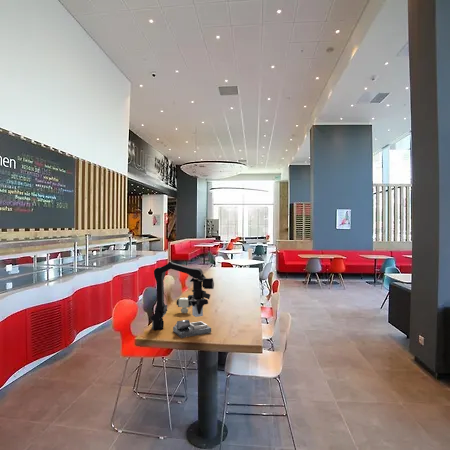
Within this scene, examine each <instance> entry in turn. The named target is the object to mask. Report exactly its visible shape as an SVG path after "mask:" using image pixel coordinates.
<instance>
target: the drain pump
mask: <svg viewBox="0 0 450 450" xmlns="http://www.w3.org/2000/svg"><path fill="white" fill-rule="evenodd" d="M191 308H192V311H191V312H192V316H193V317H195V318H198V317H203V316H204V306H203V307H202V310H201V313H200V314H198V311H197V308H196V304H195V305H194V306H191Z"/></svg>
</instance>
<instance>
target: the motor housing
mask: <svg viewBox="0 0 450 450" xmlns="http://www.w3.org/2000/svg"><path fill="white" fill-rule="evenodd" d="M172 328H173V329H172V332H173V333H174V334H176V335H177V336H178V337H179V338H180V339H184V338H189V337H195V336H199V335H201V336H202V335H205V334H206V335H207V334H211V333H212V327H211V326H209V325H208V324H207V323H205V322H203V321H202V320H201V321H194V322H193V321H192V322H191V321H190V320H189V319H184V320H177V321H176V323H175V325H174V326H172Z"/></svg>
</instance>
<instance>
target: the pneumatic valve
mask: <svg viewBox="0 0 450 450" xmlns="http://www.w3.org/2000/svg"><path fill="white" fill-rule="evenodd" d="M190 301H191V299H190V300H188V297H185V296H184V297H179V298H178V299H176V302H175V303H176V306H177V308H180V312H181V314H187V313H189V308H190V307H192V305H191V302H190Z"/></svg>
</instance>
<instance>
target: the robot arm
mask: <svg viewBox="0 0 450 450" xmlns="http://www.w3.org/2000/svg"><path fill="white" fill-rule="evenodd" d="M170 270H172V271H173V270H174V271H177V272H180V273H184V274H187V275H189V277H191V279H190V280H189V282H191V283H192V290H191V292H192V294H189V295H188V296H187V298H188V300H190V299H191V301H190V302H191V305H192V306H194V305H195V304H196V308H197V311H198V314H200V313H201V310H202V307H203V308H204V305H205V306H206V305H208V304H209V300H210V298H211V294H210V293H208V292H207V291H205V290H214V287H215V282H214V278H213V277H209V278H207V277H206V276H205V275H204V272H203V270H202V269H201V268H197V267H188V266H185V265H182V264H178V263H175V262H173V261H170V262H167V264H165V265H163V266H160V267H159V266H158V267H156V268H154V270H153V275H154V279H155V282H156V305H155V310H154V314H153V315H152V316H151V317H150V320H151V324H152V325H151V329H152V330H153V331H159V330H164V326H165V324H164V323H165V322H164V316H165V315H166V314H167V312H168V304H165V296H164V295H165V292H164V291H165V289H164V288H165V287H164V284H165V283H164V281H165V277H166V272H168V271H170ZM203 289H205V290H203ZM192 306H191V307H192Z"/></svg>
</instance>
